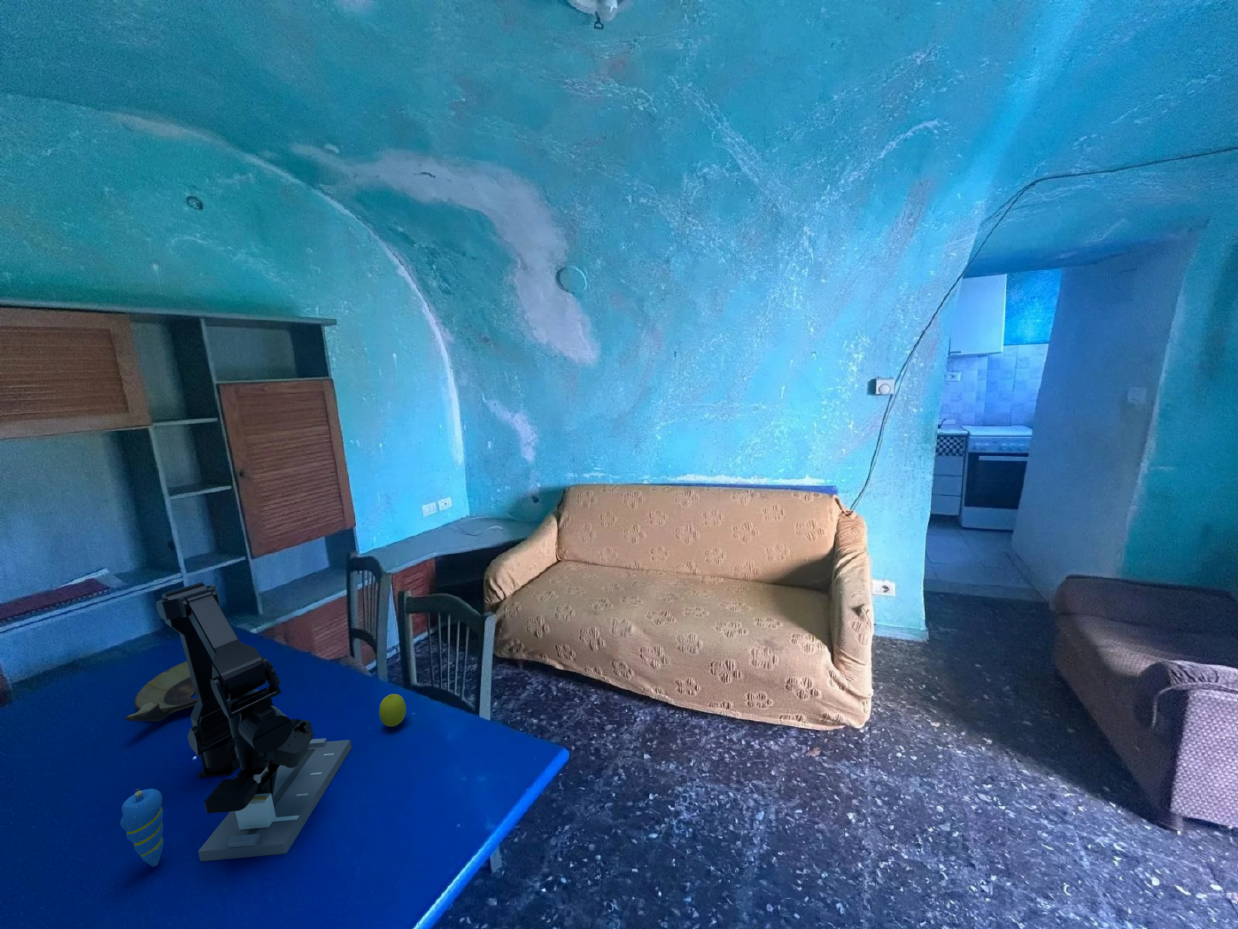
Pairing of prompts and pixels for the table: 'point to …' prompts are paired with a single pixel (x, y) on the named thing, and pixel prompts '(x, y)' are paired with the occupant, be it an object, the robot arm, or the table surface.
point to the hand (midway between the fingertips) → (267, 801)
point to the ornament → (144, 824)
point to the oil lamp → (164, 695)
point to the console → (281, 806)
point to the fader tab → (257, 813)
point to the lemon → (392, 710)
